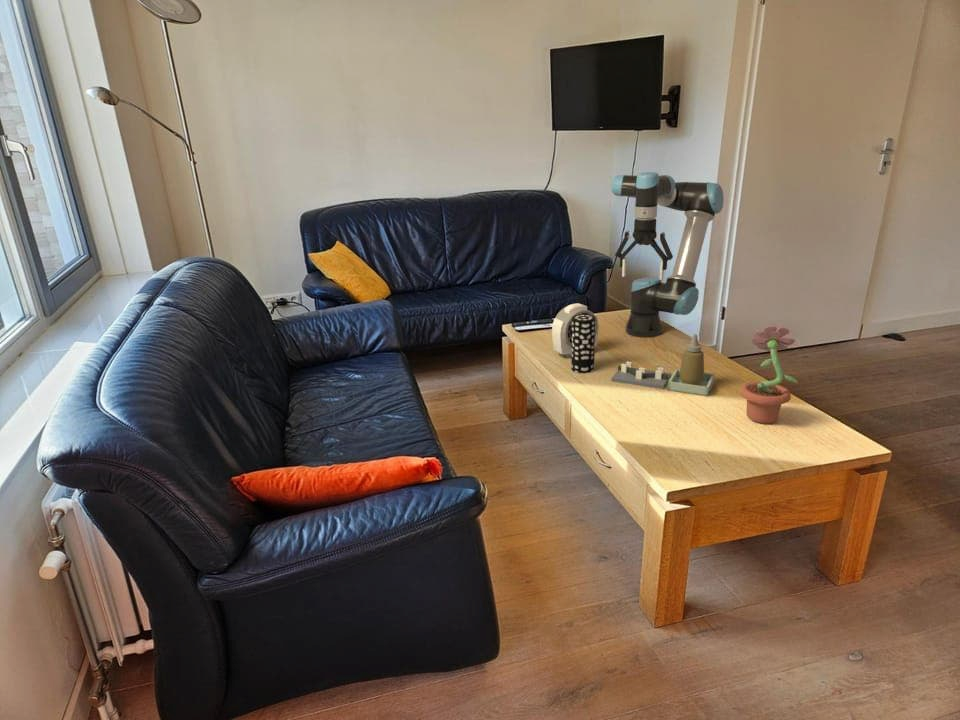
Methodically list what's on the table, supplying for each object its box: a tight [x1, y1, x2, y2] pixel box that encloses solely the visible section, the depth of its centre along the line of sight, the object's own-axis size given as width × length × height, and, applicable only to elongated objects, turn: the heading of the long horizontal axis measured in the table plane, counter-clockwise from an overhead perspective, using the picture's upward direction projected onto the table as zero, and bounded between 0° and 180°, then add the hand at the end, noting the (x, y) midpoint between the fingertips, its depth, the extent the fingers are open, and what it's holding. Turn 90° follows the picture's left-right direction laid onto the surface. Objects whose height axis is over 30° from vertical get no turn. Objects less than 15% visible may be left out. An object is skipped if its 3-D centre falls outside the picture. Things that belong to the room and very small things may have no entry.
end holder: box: [666, 368, 715, 397], centre depth 213 cm, size 13×13×3 cm
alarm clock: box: [551, 302, 600, 359], centre depth 244 cm, size 18×8×20 cm, turn 117°
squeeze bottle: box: [679, 334, 705, 386], centre depth 211 cm, size 8×8×18 cm
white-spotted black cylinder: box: [570, 314, 596, 374], centre depth 229 cm, size 8×8×20 cm
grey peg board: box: [610, 360, 672, 390], centre depth 221 cm, size 12×18×4 cm, turn 62°
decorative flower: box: [739, 325, 799, 425], centre depth 184 cm, size 15×14×30 cm
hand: (642, 277), depth 228 cm, fingers open, 13 cm apart
